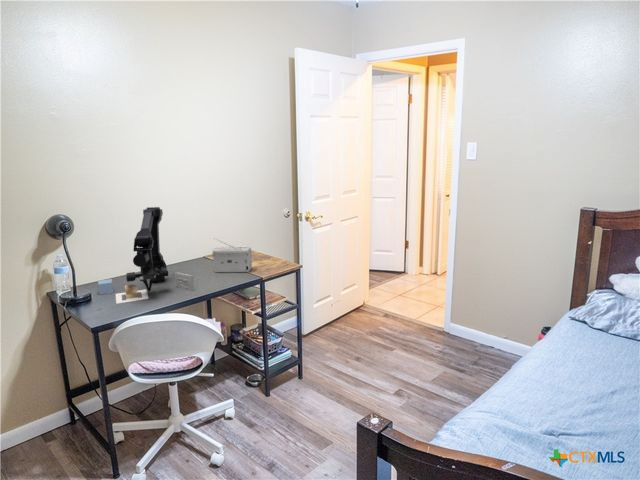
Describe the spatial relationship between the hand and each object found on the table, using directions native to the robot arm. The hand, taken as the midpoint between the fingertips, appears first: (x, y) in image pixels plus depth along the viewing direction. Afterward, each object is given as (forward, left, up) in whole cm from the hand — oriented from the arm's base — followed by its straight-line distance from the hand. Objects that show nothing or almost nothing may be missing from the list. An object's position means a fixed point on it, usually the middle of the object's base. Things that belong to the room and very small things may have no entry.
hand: (149, 291), depth 217 cm
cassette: (-17, -1, -2) cm, 17 cm away
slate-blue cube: (+19, -12, -2) cm, 23 cm away
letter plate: (+8, 0, -2) cm, 8 cm away
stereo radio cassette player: (-46, -18, -2) cm, 49 cm away
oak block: (+8, 0, -1) cm, 8 cm away
